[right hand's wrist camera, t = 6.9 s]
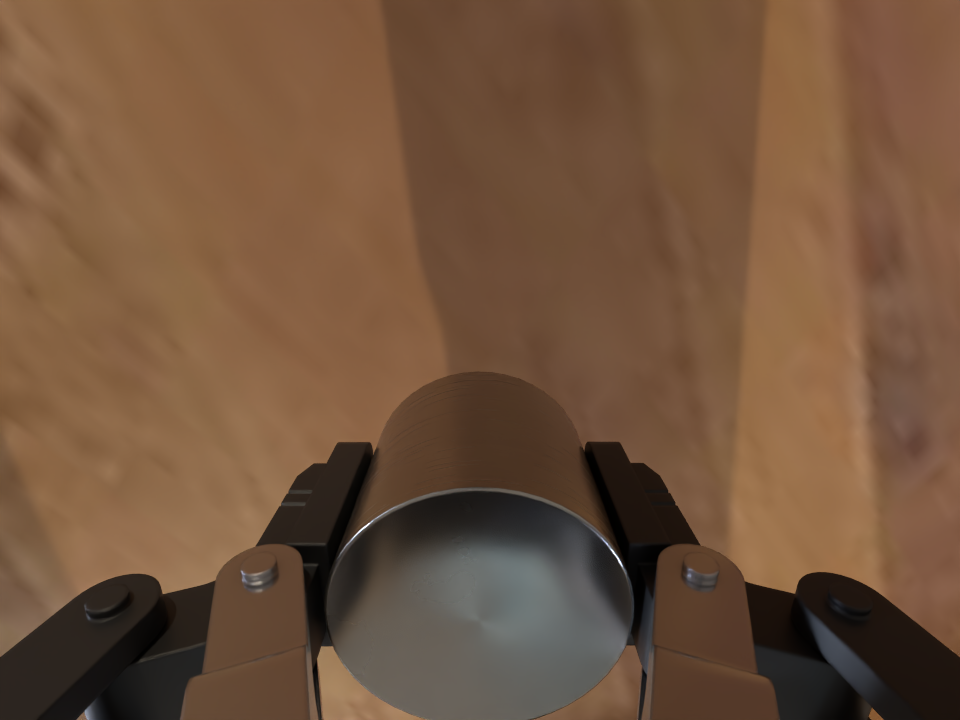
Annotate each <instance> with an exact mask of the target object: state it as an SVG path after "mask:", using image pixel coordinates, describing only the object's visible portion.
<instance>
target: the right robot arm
mask: <svg viewBox="0 0 960 720" xmlns="http://www.w3.org/2000/svg"><path fill="white" fill-rule="evenodd" d="M584 453H585V455H586V458H587V461H588V463H589V466H590V469H591V472H592V474H593V477H594V480H595V482H596V485H597V488H598V491H599V493H600V496H601V499H602V501H603V504H604V507H605V509H606V512H607V515H608V518H609V520H610V523H611V526H612V528H613V531H614V534H615V537H616V539H617V542H618V545H619V547H620V550H621V553H622V556H623V558H624V561H625V564H626V566H627V569H628V572H629V575H630V578H631V581H632V585H633V592H634V599H635V603H634V619H633V624H632V629H631V634H630V636H629V639H628V642H627V644H626V645H635V646H636V649H637V652H638V655H639V659H640V662H641V665H642V669H641V676H640V687H639V698H638V710H637V720H871V719H870V718H869V717H868V716H869V714H870V711H871V708H873V709H874V710H875V711H876V712H877V713H878V714H879V715H880V716H881V717H882V718H883V719H884V720H960V657H959V656H957V655H956V654H955V653H954V652H952V651H951V650H950V649H949V648H947V647H946V646H945V645H944V644H942V643H941V642H940V641H939V640H937V639H936V638H935V637H934V636H932V635H931V634H930V633H928V632H927V631H926V630H925V629H923V628H922V627H921V626H920V625H918V624H917V623H916V622H915V621H913V620H912V619H911V618H910V617H908V616H907V615H906V614H905V613H903V612H902V611H901V610H900V609H898V608H897V607H896V606H895V605H893V604H892V603H891V602H890V601H888V600H887V599H886V598H885V597H883V596H882V595H881V594H879V593H878V592H877V591H875V590H873V589H872V588H870V587H868V586H867V585H865V584H863V583H861V582H859V581H856V580H854V579H851V578H849V577H845V576H842V575H838V574H834V573H827V572H816V573H810V574H807V575H805V576H803V577H802V578H801V579H800V580H799V583H798V585H797V589H796V593H795V594H793V593H789V592H785V591H780V590H776V589H772V588H767V587H763V586H759V585H755V584H751V583H748V582H745V581H744V577H743V575H742V573H741V571H740V570H739V569H738V567H737V566H736V565H735V564H734V563H733V562H732V561H731V560H729V559H728V558H727V557H725V556H724V555H722V554H720V553H718V552H716V551H714V550H712V549H709V548H707V547H703V546H701V545H700V544H699V542H698V540H697V539H696V537H695V535H694V533H693V532H692V530H691V528H690V527H689V525H688V523H687V522H686V520H685V518H684V516H683V515H682V513H681V511H680V510H679V508H678V506H676V505H675V501H674V499H673V498H672V496H671V494H670V493H668V489H667V487H666V486H665V484H664V482H663V480H662V479H661V477H660V476H659V475H658V474H657V473H656V472H654V471H653V470H652V469H650V468H649V467H648V466H646V465H645V464H644V463H630V461H629V459H628V457H627V455H626V453H625V451H624V449H623V447H622V446H621V444H620V443H619V442H587V443H586V446H585V451H584ZM372 458H373V449H372V445H371V443H370V442H339V443H337V445H336V446H335V448H334V450H333V452H332V454H331V456H330V458H329V460H328V462H327V464H313V465H311V466H310V467H309V468H307V469H306V470H305V471H303V472H302V473H301V474H300V475H298V476H297V478H296V479H295V481H294V483H293V484H292V486H291V488H290V489H289V493H288V494H286V496H285V498H284V500H283V501H282V503H281V506H279V508H278V510H277V511H276V513H275V515H274V516H273V518H272V520H271V521H270V523H269V525H268V526H267V528H266V530H265V532H264V533H263V535H262V537H261V538H260V540H259V542H258V543H257V545H256V547H253V548H251V549H248V550H246V551H244V552H242V553H240V554H238V555H236V556H235V557H233V558H232V559H231V560H229V561H228V562H227V563H226V564H225V565H224V566H223V567H222V569H221V570H220V571H219V573H218V575H217V577H216V581H213V582H210V583H208V584H204V585H201V586H197V587H193V588H188V589H184V590H180V591H175V592H171V593H167V594H162V590H161V586H160V584H159V582H158V581H157V580H156V579H155V578H154V577H152V576H149V575H145V574H128V575H122V576H118V577H114V578H111V579H108V580H106V581H103V582H101V583H99V584H97V585H95V586H93V587H91V588H89V589H87V590H86V591H84V592H82V593H81V594H80V595H78V596H77V597H75V598H74V599H73V600H72V601H70V602H69V603H68V604H67V605H65V606H64V607H63V608H62V609H60V610H59V611H58V612H57V613H55V614H54V615H53V616H52V617H50V618H49V619H48V620H47V621H45V622H44V623H43V624H42V625H40V626H39V627H38V628H37V629H35V630H34V631H33V632H31V633H30V634H29V635H28V636H26V637H25V638H24V639H23V640H21V641H20V642H19V643H18V644H16V645H15V646H14V647H13V648H11V649H10V650H9V651H8V652H6V653H5V654H4V655H3V656H1V657H0V720H76V719H77V718H78V717H79V716H80V715H81V714H82V713H83V712H84V713H85V715H86V718H87V720H323V710H322V698H321V687H320V676H319V669H318V662H317V657H318V654H319V651H320V648H321V646H333V645H332V643H331V640H330V638H329V635H328V631H327V626H326V622H325V613H324V597H325V588H326V584H327V581H328V577H329V573H330V570H331V568H332V565H333V562H334V560H335V557H336V554H337V552H338V549H339V546H340V543H341V541H342V538H343V535H344V533H345V530H346V527H347V525H348V522H349V519H350V517H351V514H352V511H353V509H354V506H355V503H356V501H357V498H358V495H359V492H360V490H361V487H362V484H363V482H364V479H365V476H366V474H367V471H368V468H369V466H370V463H371V460H372Z"/></svg>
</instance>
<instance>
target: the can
mask: <svg viewBox="0 0 960 720" xmlns="http://www.w3.org/2000/svg"><path fill="white" fill-rule="evenodd" d="M634 603H635V599H634V592H633V585H632V581H631V578H630V575H629V572H628V569H627V566H626V564H625V561H624V558H623V556H622V553H621V550H620V547H619V545H618V542H617V539H616V537H615V534H614V531H613V528H612V526H611V523H610V520H609V518H608V515H607V512H606V509H605V507H604V504H603V501H602V499H601V496H600V493H599V491H598V488H597V485H596V482H595V480H594V477H593V474H592V472H591V469H590V466H589V463H588V461H587V458H586V455H585V453H584V450H583V447H582V444H581V442H580V439H579V436H578V434H577V431H576V429H575V427H574V425H573V423H572V421H571V419H570V418H569V416H568V415H567V414H566V412H565V411H564V409H563V408H562V407H561V406H560V405H559V404H558V403H557V402H556V401H555V400H554V399H553V398H552V397H550V396H549V395H548V394H547V393H545V392H544V391H542V390H541V389H539V388H538V387H536V386H534V385H533V384H530V383H528V382H526V381H524V380H521V379H519V378H515V377H512V376H509V375H505V374H499V373H493V372H468V373H460V374H455V375H450V376H447V377H444V378H441V379H438V380H435V381H433V382H431V383H429V384H427V385H425V386H423V387H421V388H420V389H418V390H417V391H415V392H414V393H412V394H411V395H410V396H409V397H407V398H406V399H405V400H404V401H403V402H402V403H401V404H400V405H399V406H398V407H397V408H396V410H395V411H394V412H393V413H392V415H391V416H390V418H389V420H388V421H387V423H386V425H385V427H384V429H383V431H382V433H381V436H380V439H379V441H378V444H377V447H376V450H375V452H374V455H373V458H372V460H371V463H370V466H369V468H368V471H367V474H366V476H365V479H364V482H363V484H362V487H361V490H360V492H359V495H358V498H357V501H356V503H355V506H354V509H353V511H352V514H351V517H350V519H349V522H348V525H347V527H346V530H345V533H344V535H343V538H342V541H341V543H340V546H339V549H338V552H337V554H336V557H335V560H334V562H333V565H332V568H331V570H330V573H329V577H328V581H327V584H326V588H325V597H324V613H325V622H326V626H327V631H328V635H329V638H330V640H331V643H332V645H333V647H334V650H335V652H336V654H337V655H338V657H339V658H340V660H341V662H342V663H343V665H344V666H345V667H346V669H347V670H348V671H349V672H350V673H351V675H352V676H353V677H354V678H355V679H356V680H357V681H358V682H359V683H360V684H361V685H362V686H363V687H365V688H366V689H367V690H368V691H370V692H371V693H372V694H374V695H375V696H377V697H378V698H379V699H381V700H383V701H384V702H386V703H388V704H390V705H391V706H393V707H395V708H397V709H400V710H402V711H404V712H407V713H409V714H411V715H414V716H417V717H420V718H424V719H427V720H532V719H536V718H538V717H541V716H544V715H547V714H550V713H553V712H555V711H557V710H559V709H561V708H563V707H565V706H567V705H569V704H571V703H573V702H574V701H576V700H577V699H579V698H581V697H582V696H584V695H585V694H586V693H588V692H589V691H590V690H591V689H593V688H594V687H595V686H597V685H598V684H599V683H600V682H601V681H602V680H603V679H604V678H605V677H606V676H607V675H608V673H609V672H610V671H611V669H612V668H613V667H614V665H615V664H616V663H617V662H618V660H619V658H620V656H621V654H622V653H623V651H624V649H625V647H626V644H627V642H628V639H629V636H630V634H631V629H632V624H633V619H634Z"/></svg>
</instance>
